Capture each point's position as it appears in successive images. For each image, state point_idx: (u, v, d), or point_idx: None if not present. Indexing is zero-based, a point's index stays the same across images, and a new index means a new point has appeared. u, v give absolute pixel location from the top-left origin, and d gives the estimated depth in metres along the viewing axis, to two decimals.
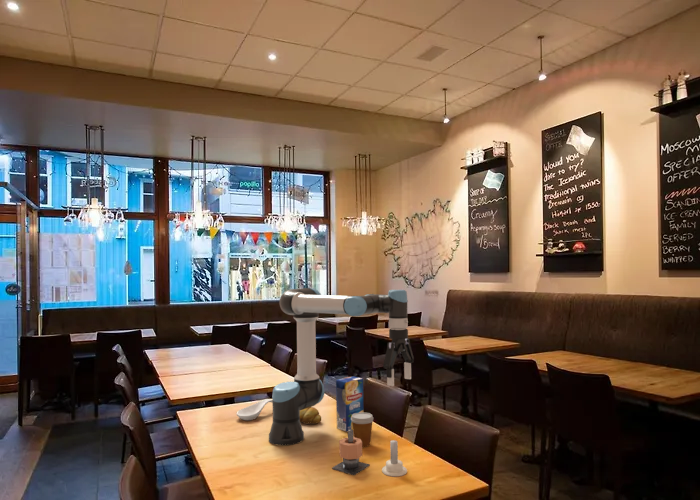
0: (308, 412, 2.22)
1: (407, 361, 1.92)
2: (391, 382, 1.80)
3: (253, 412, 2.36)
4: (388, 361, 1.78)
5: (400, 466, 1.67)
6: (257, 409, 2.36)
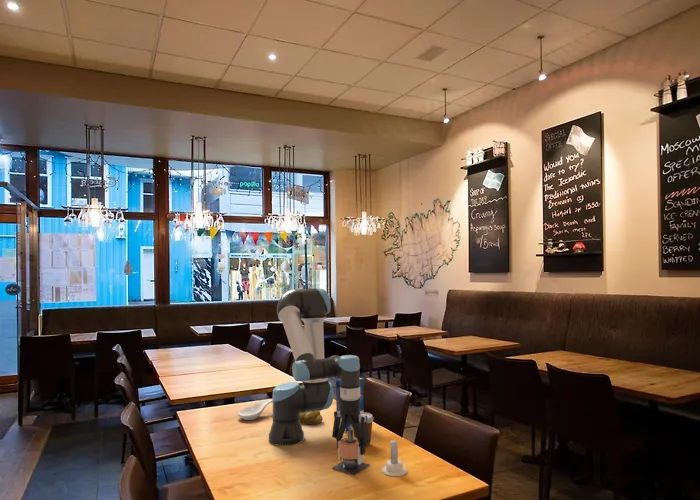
0: (309, 412, 2.22)
1: None
2: None
3: (255, 412, 2.36)
4: None
5: (400, 466, 1.67)
6: (259, 409, 2.36)
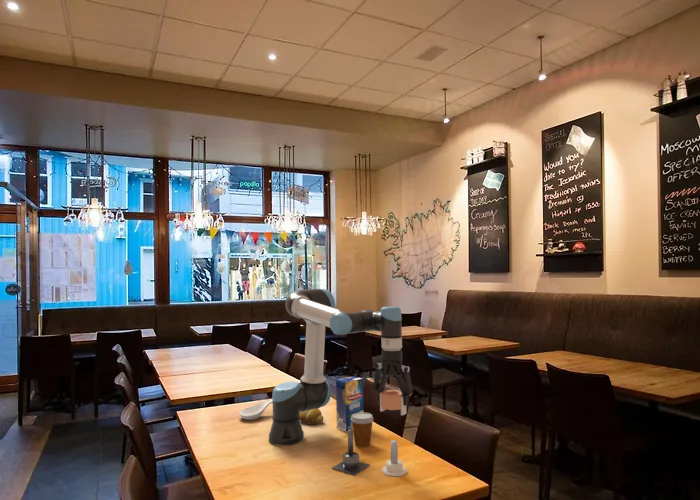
0: (310, 412, 2.22)
1: None
2: None
3: (256, 412, 2.36)
4: None
5: (400, 466, 1.67)
6: (260, 409, 2.36)
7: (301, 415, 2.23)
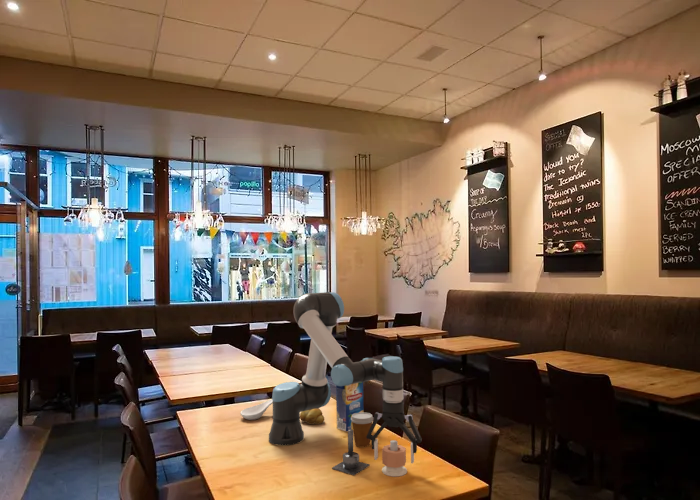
0: (311, 412, 2.22)
1: None
2: None
3: (258, 412, 2.36)
4: None
5: None
6: (262, 409, 2.36)
7: (302, 415, 2.23)
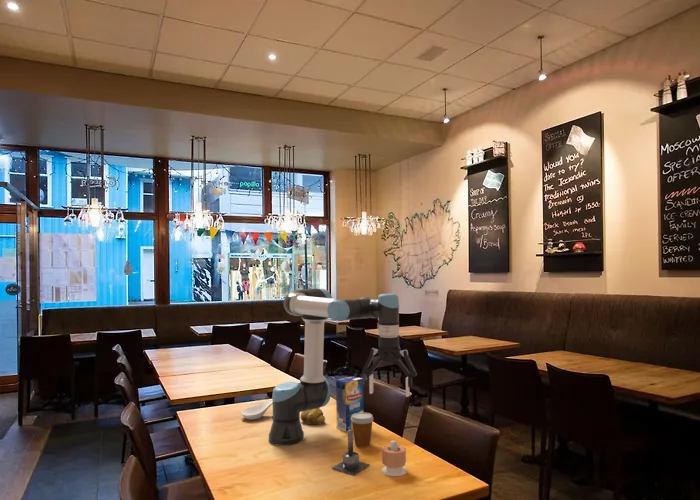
0: (311, 412, 2.22)
1: None
2: None
3: (259, 412, 2.36)
4: None
5: None
6: (263, 409, 2.36)
7: (303, 415, 2.23)
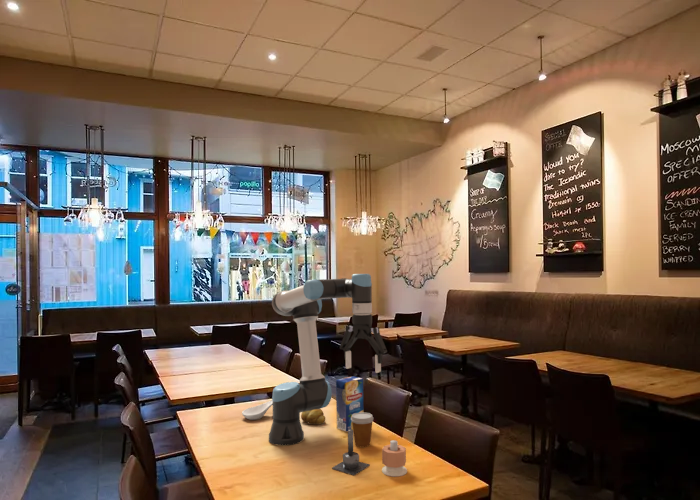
0: (312, 412, 2.22)
1: None
2: None
3: (260, 412, 2.36)
4: None
5: None
6: (264, 409, 2.36)
7: (303, 415, 2.23)
